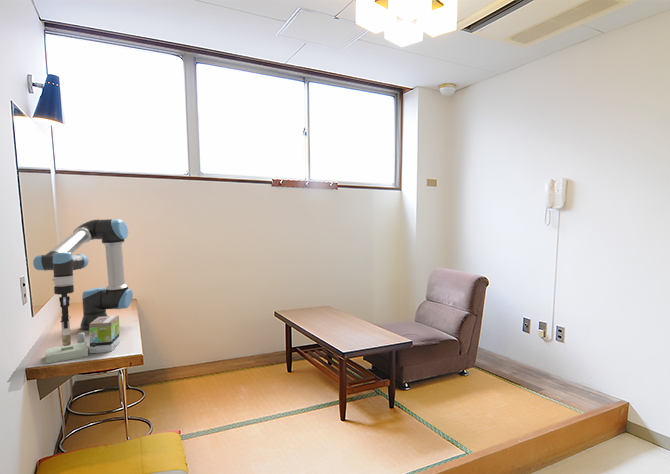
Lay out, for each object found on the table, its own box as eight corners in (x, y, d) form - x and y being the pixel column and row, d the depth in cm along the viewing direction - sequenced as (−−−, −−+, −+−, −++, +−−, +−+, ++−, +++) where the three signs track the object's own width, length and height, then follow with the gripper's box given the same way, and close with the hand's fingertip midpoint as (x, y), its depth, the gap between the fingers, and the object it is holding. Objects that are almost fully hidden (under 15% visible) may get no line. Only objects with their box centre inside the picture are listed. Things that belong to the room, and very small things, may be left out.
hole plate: (87, 348, 192) (86, 341, 191) (88, 355, 182) (87, 348, 182) (47, 355, 182) (46, 348, 182) (46, 363, 173) (45, 356, 172)
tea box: (112, 351, 187) (111, 322, 186) (89, 354, 184) (87, 324, 183) (120, 342, 201) (119, 314, 201) (98, 344, 199) (97, 316, 198)
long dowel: (70, 343, 184) (69, 314, 183) (70, 345, 181) (69, 316, 180) (62, 344, 182) (61, 315, 181) (62, 346, 179) (61, 317, 179)
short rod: (85, 345, 197) (84, 332, 196) (85, 347, 194) (84, 333, 194) (78, 346, 195) (77, 333, 194) (78, 348, 192) (77, 334, 192)
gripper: (54, 283, 185) (56, 331, 186) (53, 288, 171) (56, 339, 172) (73, 281, 189) (75, 328, 190) (73, 286, 176) (76, 336, 177)
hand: (66, 333), depth 181 cm, fingers closed on long dowel, 3 cm apart
